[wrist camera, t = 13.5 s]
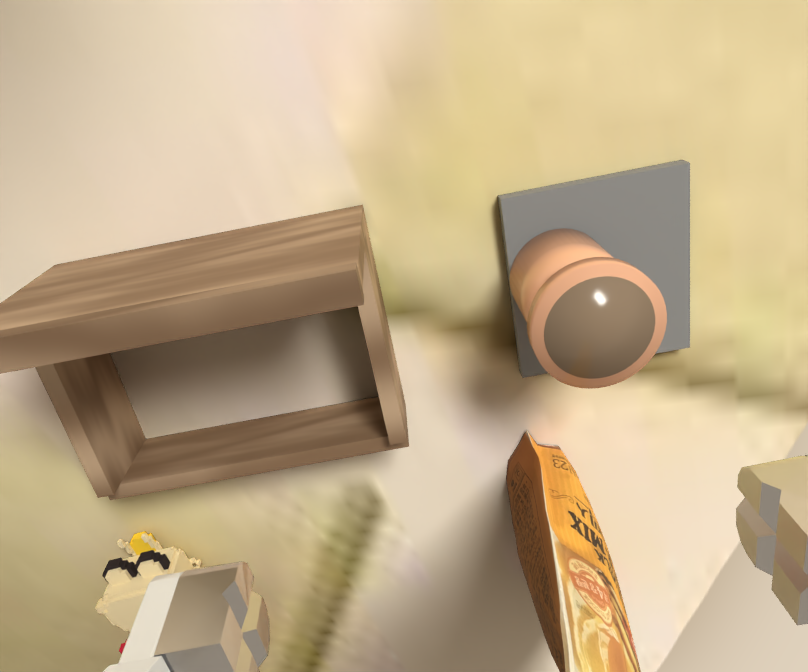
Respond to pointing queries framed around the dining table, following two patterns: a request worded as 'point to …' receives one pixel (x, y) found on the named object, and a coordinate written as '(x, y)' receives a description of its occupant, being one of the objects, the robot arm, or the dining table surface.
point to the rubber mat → (613, 235)
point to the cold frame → (195, 316)
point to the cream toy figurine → (137, 577)
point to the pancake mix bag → (567, 563)
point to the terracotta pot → (586, 309)
